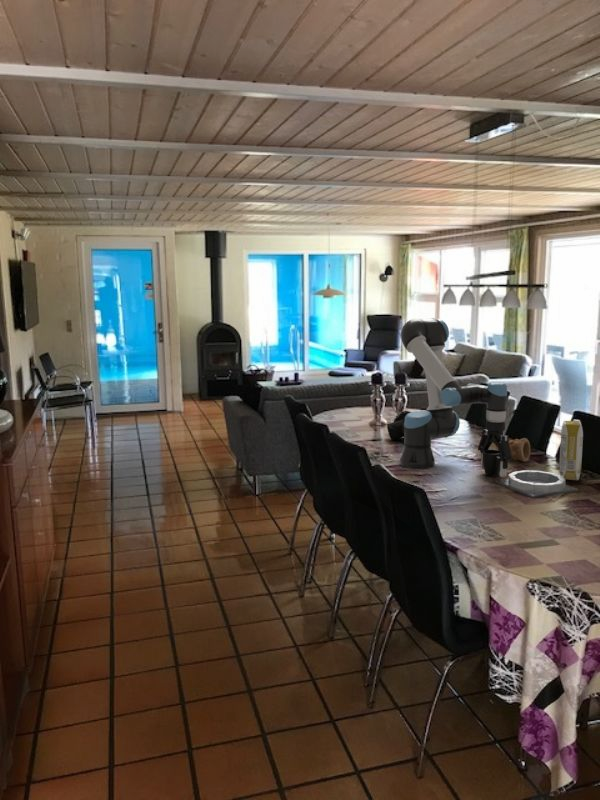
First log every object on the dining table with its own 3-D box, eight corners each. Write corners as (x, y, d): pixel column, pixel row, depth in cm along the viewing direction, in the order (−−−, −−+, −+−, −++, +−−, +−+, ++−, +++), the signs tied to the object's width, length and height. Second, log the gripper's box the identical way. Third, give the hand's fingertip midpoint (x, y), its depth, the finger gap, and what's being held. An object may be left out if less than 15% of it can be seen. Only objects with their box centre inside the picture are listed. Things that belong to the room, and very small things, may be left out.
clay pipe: (501, 471, 281) (535, 462, 277) (494, 448, 280) (528, 439, 276) (499, 459, 299) (531, 451, 295) (493, 438, 298) (525, 430, 294)
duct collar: (532, 497, 232) (533, 487, 231) (496, 482, 251) (496, 473, 250) (577, 491, 239) (578, 481, 238) (539, 476, 258) (539, 467, 258)
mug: (487, 479, 254) (488, 456, 252) (479, 471, 266) (480, 449, 264) (507, 479, 254) (509, 456, 252) (499, 471, 266) (500, 449, 264)
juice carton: (580, 481, 251) (584, 422, 247) (559, 479, 254) (562, 421, 250) (579, 475, 260) (582, 418, 256) (558, 473, 262) (561, 417, 258)
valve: (396, 429, 306) (382, 415, 335) (403, 456, 309) (389, 441, 338) (438, 416, 306) (421, 403, 336) (445, 444, 309) (427, 429, 339)
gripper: (523, 425, 246) (520, 479, 250) (485, 414, 268) (483, 463, 272) (507, 427, 243) (504, 481, 247) (470, 415, 266) (468, 465, 269)
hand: (493, 472), depth 260 cm, fingers closed on mug, 12 cm apart
